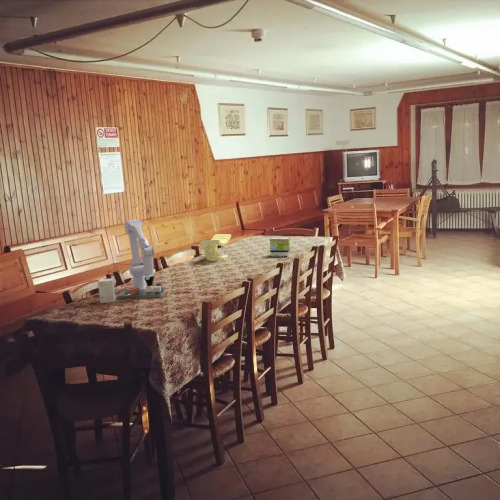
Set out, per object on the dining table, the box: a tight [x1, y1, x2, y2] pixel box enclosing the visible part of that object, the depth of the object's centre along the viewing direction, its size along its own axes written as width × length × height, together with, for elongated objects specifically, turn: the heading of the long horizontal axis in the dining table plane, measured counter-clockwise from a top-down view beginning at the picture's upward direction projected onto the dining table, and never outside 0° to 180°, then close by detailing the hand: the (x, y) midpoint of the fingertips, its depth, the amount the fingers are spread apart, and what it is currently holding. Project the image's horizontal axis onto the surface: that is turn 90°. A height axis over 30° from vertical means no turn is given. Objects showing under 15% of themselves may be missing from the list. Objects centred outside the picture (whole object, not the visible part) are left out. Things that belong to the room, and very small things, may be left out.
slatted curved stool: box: [199, 233, 232, 261], centre depth 429 cm, size 30×16×18 cm, turn 164°
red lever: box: [123, 287, 139, 295], centre depth 319 cm, size 9×2×3 cm, turn 127°
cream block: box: [144, 286, 154, 292], centre depth 322 cm, size 3×4×3 cm
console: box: [116, 285, 166, 300], centre depth 322 cm, size 14×26×4 cm, turn 89°
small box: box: [97, 278, 117, 304], centre depth 312 cm, size 8×6×13 cm
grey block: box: [153, 285, 162, 292], centre depth 321 cm, size 3×4×3 cm
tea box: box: [269, 236, 291, 257], centre depth 431 cm, size 15×10×15 cm, turn 81°
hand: (150, 288), depth 325 cm, fingers closed
